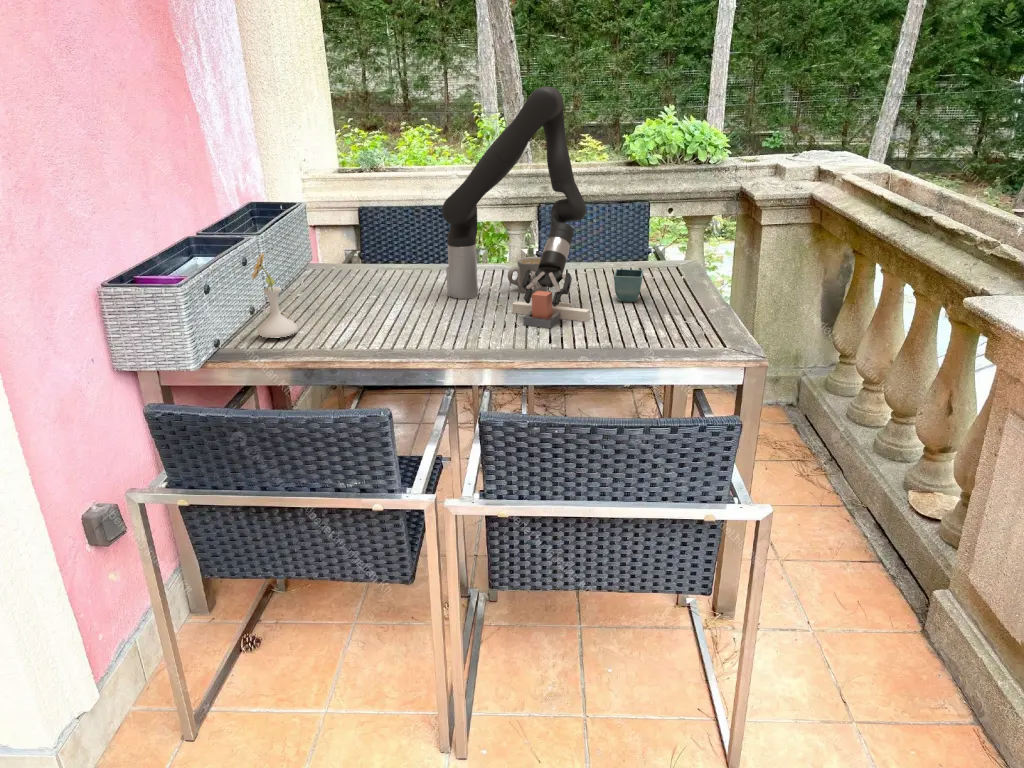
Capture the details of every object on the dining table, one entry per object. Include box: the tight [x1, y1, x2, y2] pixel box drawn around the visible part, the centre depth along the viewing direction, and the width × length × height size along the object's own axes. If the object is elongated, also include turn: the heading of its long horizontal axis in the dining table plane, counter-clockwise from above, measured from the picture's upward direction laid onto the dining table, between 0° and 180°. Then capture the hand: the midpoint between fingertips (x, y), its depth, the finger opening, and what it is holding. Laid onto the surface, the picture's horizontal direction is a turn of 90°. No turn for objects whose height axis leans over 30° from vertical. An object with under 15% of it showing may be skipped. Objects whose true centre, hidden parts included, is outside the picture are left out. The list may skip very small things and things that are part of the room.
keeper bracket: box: [522, 311, 561, 329], centre depth 228 cm, size 8×8×2 cm
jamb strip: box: [511, 301, 590, 323], centre depth 237 cm, size 24×11×3 cm, turn 66°
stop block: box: [531, 290, 553, 319], centre depth 227 cm, size 4×4×9 cm
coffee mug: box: [507, 256, 548, 294], centre depth 260 cm, size 13×10×10 cm
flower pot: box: [613, 268, 644, 303], centre depth 246 cm, size 9×9×9 cm
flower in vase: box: [250, 252, 299, 338], centre depth 217 cm, size 13×11×25 cm
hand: (540, 303), depth 225 cm, fingers open, 8 cm apart
